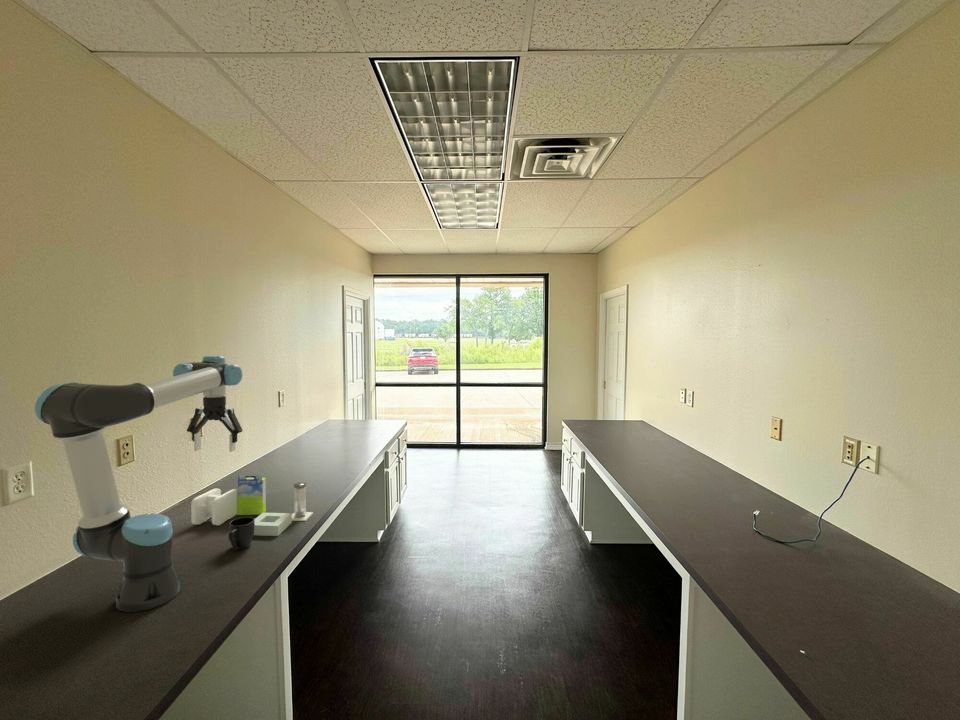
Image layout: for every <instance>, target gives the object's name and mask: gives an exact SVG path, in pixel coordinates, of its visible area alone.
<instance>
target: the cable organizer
mask: <svg viewBox="0 0 960 720" xmlns="http://www.w3.org/2000/svg"><path fill="white" fill-rule="evenodd" d="M190 505H191V508H190V510H191V511H190V512H191V513H190V514H191V524H192V525H195V526H196V525H202V524H203V523H205V522H207V521H208V520H209V519H211V523H212V525H213V526H221V525H222V524H224V523H225V522H226V521H228V520H230V519H232V518H234V517H235V516H236V515H238V488H237V489H236V488H233V489H230V490H228V491H226V492H224V493H223V494H222V490H221V489H220V488H213V489H210V490H208V491H206V492H204V493H202V494H200V495H197V496H196V497H194V498H193V499H192V500H191V502H190Z"/></svg>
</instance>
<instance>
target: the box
mask: <svg viewBox="0 0 960 720" xmlns="http://www.w3.org/2000/svg"><path fill="white" fill-rule="evenodd" d="M266 478H267V477H263V475H237V490H238V512H237V516H251V515H253V516H254V515H255V516H256V515H257V516H259V515H261V514H262V513H267V501H266V499H267V492H266V491H267V490H266V489H267V488H266V485H267V482H266V481H267V480H266Z"/></svg>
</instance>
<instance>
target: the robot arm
mask: <svg viewBox="0 0 960 720" xmlns="http://www.w3.org/2000/svg"><path fill="white" fill-rule="evenodd" d="M242 378H243V371H242V368H241V367H240V365H238V364H232V363H226V358H225V357H224V355H223V356H222V355H204V356H203V357H202V360H201V361H200V362H199V361H196V362H193V361H192V362H183V363H178V364H177V365H176V366H174V367H173V370H172V376H170V377H166V378H164V379H163V378H162V379H160V380H155V381H151V382H147V383H141V382H134V383H130V384H123V385H117V384H116V385H114V384H112V385H111V384H110V385H109V384H92V383H80V382H66V383H65V382H63V383H56V384H54V385H50V386H49V387H48V388H46V389H45V390H43V391H42V392H41V394H40V395H39V396H38V398H37V399H36V401H35V406H34V412H35V416H36V417H37V419H38V420H39V421H40V422H43V424H47V425H49V426H50V429H51V433H52V436H53V438H54V439H56V440H60V441H62V443H63V444H62V445H63V447H64V451H65V455H66V458H67V461H68V465H69V469H70V473H71V476H72V480H73V482H74V487H75V490H76V494H77V495H76V496H77V498H78V501H79V506H80V508H81V512H82V513H81V514H82V516H81V518H80V519H79V520H78V521H77V527H76V528H75V531H76V532H74V533H73V535H72V545H73V548H74V550H75V551H76V552H77V553H79V554H80V555H81V556H83V557H88V558H90V559H95V560H106V561H114V562H118V563H120V562H121V563H122V570H123V572H122V573H123V575H122V577H123V578H122V581H121V582H120V583H121V584H120V585H119V588H118V592H117V594H116V597H115V607H116V609H117V610H119V611H120V612H124V613H137V612H144V611H147V610H152V609H155V608H157V607H159V606H162V605H163V604H164V605H165V604H166V603H168V602H170V601H171V600H172V599H174V598H175V597H176V596H178V595H179V592H180V590H181V589H180V588H181V586H180V583H181V582H180V579H179V577H178V575H177V573H176V571H175V569H174V566H173V536H174V535H173V531H174V530H173V527H172V526H173V525H172V520H171V518H169V517H168V516H167V515H164V514H162V513H161V514H160V513H150V514H148V513H142V514H137V515H135V516H132V517H131V513H130V508H129V506H128V505H126V504H123V503H121V500H120V496H119V492H118V491H119V490H118V488H117V483H116V480H115V475H114V472H113V471H114V470H113V468H112V467H113V466H112V464H111V460H110V459H111V458H110V455H109V452H108V447H107V444H106V440H105V436H104V431H105V429H107V428H108V427H111V426H112V427H113V426H116V425H119V424H122V423H126V422H129V421H132V420H135V419H136V420H137V419H139V418H141V417H144V416H146V415H149V414H151V413H152V412H153V411H154V409H156V408H159V407H162V406H166V405H169V404H173V403H175V402H177V401H181V400H184V399H186V398H190V397H193V396H195V395H199V394H201V393H202V395H203V397H202V405H203V407H201V406H200V407H197V408H196V407H195V410H194V413H193V414H194V415H193V416H192V418H191V421H190V422H189V424H188V427H187V429H186V432H187V433H189V432H190V433H191V435H192V437H191V438H192V442H193V443H194V445H193V446H194V450H193V451H195V452H197V451H200V450H201V449H202V436H201V435H202V432H200V430H202V428H204V426H205V425H206V424H207V422H208V421H219V422H220V423H222V424H223V426H224V427H225V428H226V429H227V431H229V433H230V434H229V438H228V439H229V444H228V445H229V447H228V449H229V453H230V452H234V451H236V443H237V442H238V434H240V433H242V432H243V428H242V426H241V424H240V422H239V419H238V418H237V416H236V414H235V413H236V412H235V408H234V407H233V408H232V407H230V408H226V404H227V398H226V395H227V393H226V392H227V390H226V386H229V387H230V386H237V385H238V384H240V382H241V381H242ZM202 414H204V415H203V417H202V418H201V416H202ZM227 415H228V416H227ZM200 418H201V420H200Z"/></svg>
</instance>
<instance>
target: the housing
mask: <svg viewBox="0 0 960 720" xmlns="http://www.w3.org/2000/svg"><path fill="white" fill-rule="evenodd" d="M292 514H293V513H288V512H265V513H262V514H261V515H257V517H255V518H254V520H255V528H254V535H253V536H263V537H264V536H265V537H267V536H271V537H272V536H273V537H278V536H280V535H281V534H282V533H283V532H284V531H285V530H287V528H288V527H290V525H292V523H293V521H292Z"/></svg>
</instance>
